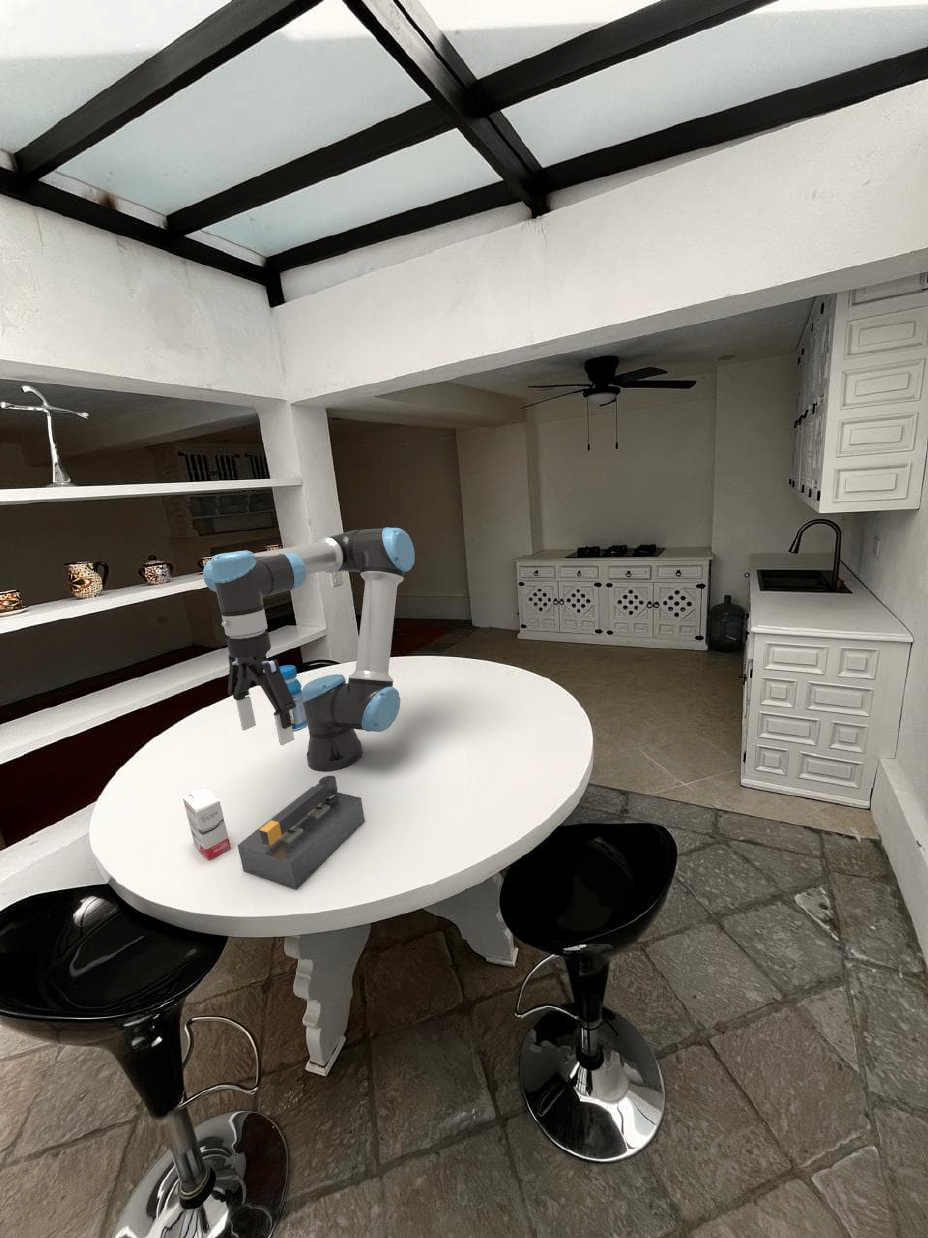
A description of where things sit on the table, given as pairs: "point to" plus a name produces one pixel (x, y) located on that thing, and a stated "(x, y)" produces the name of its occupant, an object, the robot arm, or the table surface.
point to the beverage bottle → (295, 697)
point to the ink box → (207, 823)
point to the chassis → (303, 842)
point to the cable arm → (298, 810)
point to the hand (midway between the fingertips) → (267, 734)
